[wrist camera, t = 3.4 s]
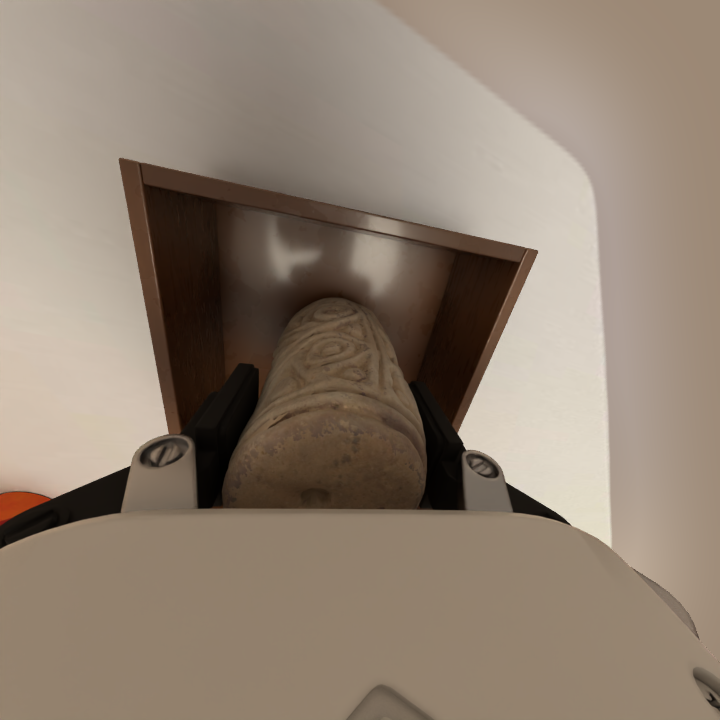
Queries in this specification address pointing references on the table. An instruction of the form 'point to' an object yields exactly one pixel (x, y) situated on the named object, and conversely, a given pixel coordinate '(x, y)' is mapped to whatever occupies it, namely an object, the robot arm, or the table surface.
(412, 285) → the chest
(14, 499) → the paper cup
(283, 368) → the carving
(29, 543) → the robot arm
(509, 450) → the table surface
